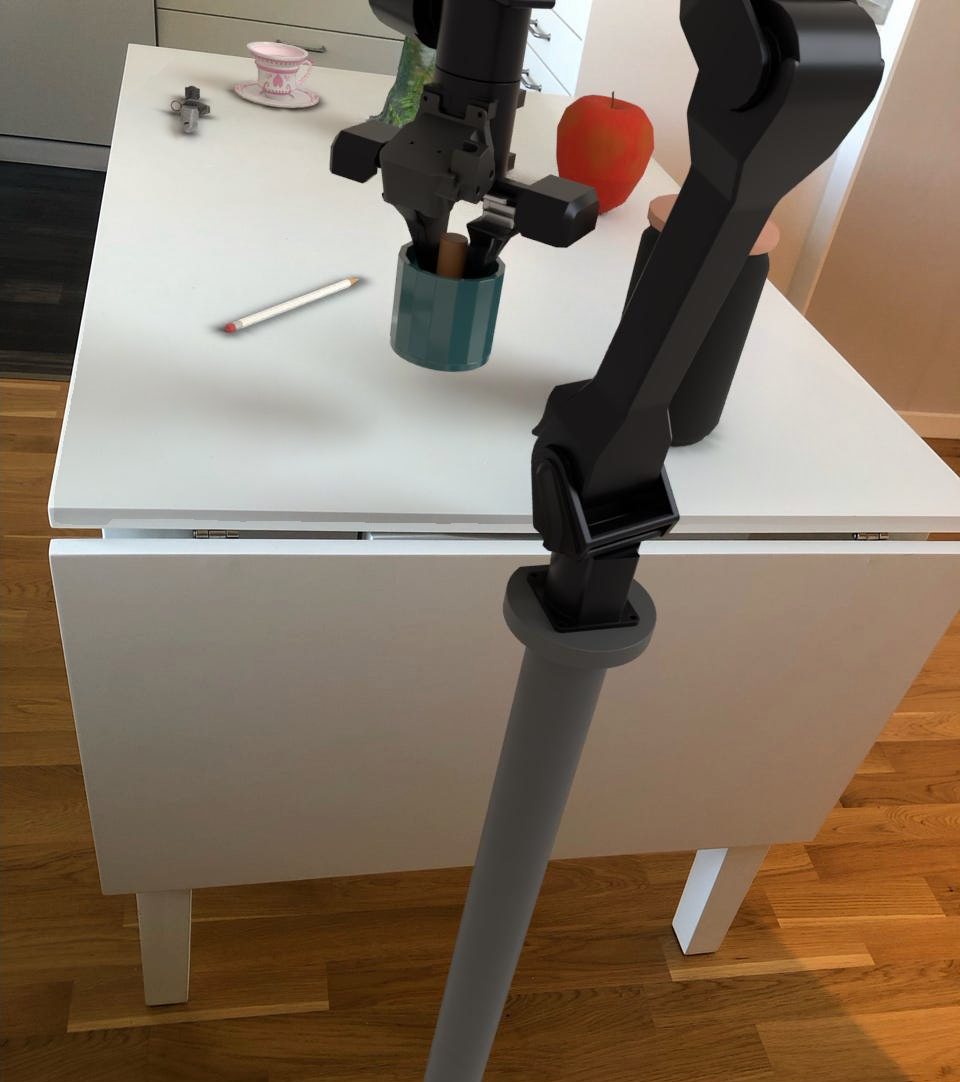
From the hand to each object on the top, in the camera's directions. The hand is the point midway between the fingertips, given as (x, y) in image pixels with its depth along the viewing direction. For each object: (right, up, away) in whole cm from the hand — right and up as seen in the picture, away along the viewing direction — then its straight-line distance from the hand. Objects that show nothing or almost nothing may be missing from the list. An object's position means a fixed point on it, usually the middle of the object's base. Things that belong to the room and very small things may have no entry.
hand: (447, 299), depth 80 cm
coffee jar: (+18, -6, +16) cm, 25 cm away
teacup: (-27, +52, +74) cm, 95 cm away
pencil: (-15, +7, +23) cm, 28 cm away
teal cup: (-1, -3, +3) cm, 4 cm away
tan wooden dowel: (-1, -2, +2) cm, 3 cm away
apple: (+16, +29, +57) cm, 67 cm away
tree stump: (-4, +40, +65) cm, 76 cm away
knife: (-36, +43, +61) cm, 82 cm away
